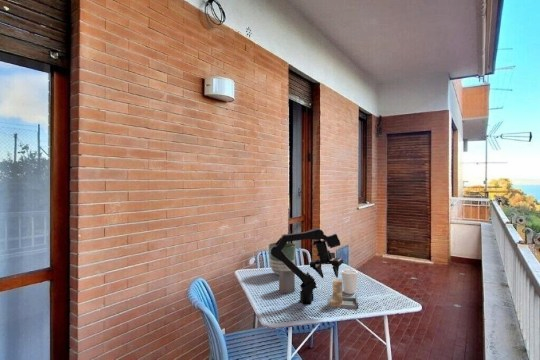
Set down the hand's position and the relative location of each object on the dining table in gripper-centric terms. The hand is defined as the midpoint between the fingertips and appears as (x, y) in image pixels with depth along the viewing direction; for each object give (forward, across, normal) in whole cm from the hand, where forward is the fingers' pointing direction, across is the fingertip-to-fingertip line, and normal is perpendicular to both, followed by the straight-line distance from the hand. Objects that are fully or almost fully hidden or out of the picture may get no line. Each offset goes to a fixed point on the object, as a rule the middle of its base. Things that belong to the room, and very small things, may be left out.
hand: (329, 277), depth 178 cm
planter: (+8, +55, -25) cm, 61 cm away
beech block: (+13, -3, +4) cm, 14 cm away
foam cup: (+17, 0, -17) cm, 24 cm away
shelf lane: (+14, -5, +3) cm, 15 cm away
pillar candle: (+7, +32, +2) cm, 33 cm away
